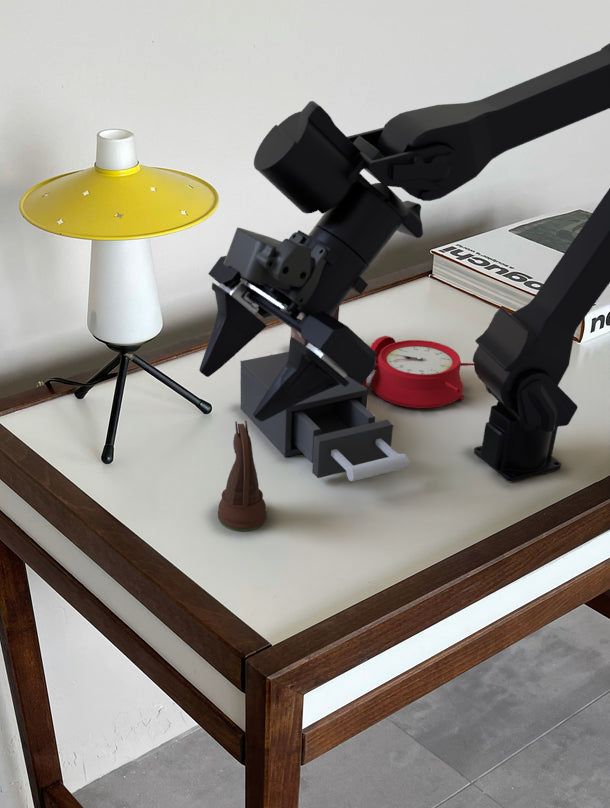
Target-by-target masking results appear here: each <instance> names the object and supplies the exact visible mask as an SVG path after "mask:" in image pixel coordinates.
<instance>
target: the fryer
mask: <svg viewBox="0 0 610 808" xmlns="http://www.w3.org/2000/svg"><path fill="white" fill-rule="evenodd" d="M288 357H289V351H285V352H280V353H275V354H270V355H264V356H259V357H253V358H249V359H244V360H241V361H240V410H241V411H242V412H243V413H244V414H245V416H247V418H249V420H250V421H251V422H252V423H253V424H254V425H255V426H256V427H257V428H258V430H260V432H261V433H262V434H263V435H264V436H265V437H266V438H267V439H268V440H269V442H270V443H271V444H272V445H273V446H274V447H275V448H276V449H277V450H278V451H279V452H280V454H281V455H282V456H283V457H285V458H287V457H291V456H295V455H300V454H303V453H302V452H301V451H300V450H299V449H298V448H297V447H296V445H295V444H294V443H293V442H292V441H291V428H292V412H293V411H298V410H302V409H307V408H311V407H316V406H320V405H325V404H330V403H334V402H339V401H343V400H348V399H352V398H355V399H356V400H357V401H358V402H360V403H361V404H362V405H363V406H364V407H365V408H366V409H368V407H367V406H368V394H369V389H368V388H367V386H366V387H364V386H363V385H360V384H359V383H357V382H356V381H354V380H353V379H351V378H350V377H348V376H347V377H346V378H345V379H346V380H347V381H348V382H349V385H348V386H347V387H344V386H342V385H338V386H335V387H333V388H331V389H328V390H326V391H324V392H321V393H319V394H317V395H314V396H312V397H310V398H308V399H306V400H304V401H302V402H299V403H298V404H296V405H294V406H292V407H290V408H288V409H286V410H284V411H282V412H280V413H278V414H277V415H275V416H273V417H271V418H269V419H267V420H265V421H263V422H261V421H259V420H258V419H256V418H255V417H254V416H253V413H254V411H255V410H256V408H257V406H258V404H259V402H260V401H261V399H262V398H263V396H264V395H265V393H266V392H267V390H268V389H269V387H270V386H271V385H272V383H273V382H274V380H275V379H276V377H277V376H278V374H279V373H280V372H281V370H282V369H283V367H284V366H285V364H286V363H287V361H288Z"/></svg>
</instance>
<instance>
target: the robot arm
mask: <svg viewBox="0 0 610 808" xmlns="http://www.w3.org/2000/svg"><path fill="white" fill-rule="evenodd" d="M609 109H610V42H609V43H608V44H606V45H604V46H602V47H601V49H600V50H597V51H595V52H593V53H591V54H588V55H585V56H583V57H581V58H578V59H575V60H573V61H571V62H569V63H565V64H563V65H561V66H559V67H556V68H554V69H551V70H549V71H546V72H544V73H542V74H539V75H537V76H534V77H533V78H530V79H527V80H525V81H522V82H520V83H518V84H515V85H514V86H511V87H508V88H505V89H503V90H501V91H498V92H496V93H494V94H491V95H489V96H486V97H484V98H481V99H477V100H474V101H469V102H461V103H446V104H445V103H444V104H435V105H431V106H425V107H421V108H417V109H412V110H407V111H403V112H401V113H399V114H397V115H395V116H393V117H391V118H390V119H389V120H388V121H387V122H386V123H385V124H384V126H383V127H380V128H376V129H372V130H368V131H364V132H361V133H356V134H353V135H347V136H346V134H344V133H343V131H341V129H339V127H338V126H337V125H336V124H335V122H334V120H333V118H331V116H330V114H329V113H328V112H327V111H326V110H325V109H324V108H323V107H322V106H321V105H320V104H318V103H317V102H316V101H314V100H310V101H308V103H307V104H306V105H305V106H304V107H303V109H302V110H300V111H297V112H294V113H292V114H290V115H289V116H287V117H286V118H285V119H283V120H282V121H281V122H280V123H279V124H278V125H277V124H275V125H273V127H272V128H271V129H270V130H269V131H268V132H267V134H266V135H265V137H263V139H262V141H261V142H260V143H259V146H258V148H257V150H256V152H255V155H254V157H253V158H254V159H253V167H254V170H256V171H257V172H258V173H259V174H260V175H261V176H262V177H264V178H265V179H266V180H267V181H268V182H269V183H270V184H271V185H272V186H274V187H275V188H276V189H277V190H278V191H279V192H280V193H281V194H282V195H283V196H284V197H285V198H287V200H288V201H290V203H292V204H293V205H294V206H295V207H296V208H297V209H298V210H300V212H302V213H303V214H306V215H308V214H313V213H316V212H319V213H320V214H321V215H322V216H321V217H320V218H319V220H318V221H317V223H315V225H314V226H313V228H312V229H311V230H310V232H309V233H308V234H307V233H306V232H303V231H301V230H300V229H298V230H297V232H292V234H291V235H290V236H289V238H285V239H283V240H282V241H281V240H279V239H276V238H273V237H271V236H267V235H264V234H261V233H259V232H255V231H252V230H248V229H245V228H242V227H236V229H235V232H234V235H233V238H232V240H231V242H230V244H229V248H228V251H227V253H226V255H222V256H220V257H219V258H218V260H217V261H216V262H215V264H214V265H213V266H212V268H211V269H210V271H209V272H208V276H210V277H211V278H212V279H213V280H215V281H216V282H217V283H218V284H219V285H217V283H215V282H212V283H211V290H212V291H213V292H214V294H215V301H216V306H217V312H216V316H215V320H214V323H213V327H212V331H211V334H210V336H209V340H208V342H207V345H206V349H205V352H204V355H203V357H202V360H201V363H200V366H199V369H198V370H199V373H201V374H202V375H203V376H205V377H207V378H209V377H211V376H212V375H213V374H215V373H216V372H217V371H218V370H220V369H221V368H222V367H224V366H225V364H227V363H228V362H229V361H230V360H231V359H232V358H234V357H235V356H236V355H237V354H238V353H239V352H240V351H242V350H243V349H244V348H245V347H246V346H247V345H248V344H249V343H250V342H251V341H252V340H254V339H255V338H256V337H257V336H258V335H259V334H260V333H261V332H262V331H263V330H265V328H266V327H267V326H268V325H267V324H266V323H265V322H264V321H263V320H261V319H260V318H259V317H261V318H263V319H266V318H269V317H271V316H273V317H275V318H276V319H277V320H279V321H281V322H282V323H284V324H285V325H286V326H288V327H289V328H290V329H291V328H292V329H294V330H295V331H297V332H298V333H300V334H301V337H302V338H303V339H304V340H305V341H307V342H308V344H307V346H304V345H303V344H302V343H300V342H299V341H297V340H296V339H294V338H293V337H291V336H290V338H289V347H288V352H289V357H288V361H287V363H286V364H285V366H284V367H283V369H282V370H281V372H280V373H279V374H278V376H277V377H276V379H275V380H274V382H273V383H272V385H271V386H270V387H269V389H268V390H267V392H266V393H265V395H264V396H263V398H262V399H261V401H260V402H259V404H258V406H257V408H256V410H255V411H254V413H253V416H254V417H255V418H256V419H258V420H259V421H261V422H263V421H265V420H267V419H269V418H271V417H273V416H275V415H277V414H278V413H280V412H282V411H284V410H286V409H288V408H290V407H292V406H294V405H296V404H298V403H299V402H302V401H304V400H306V399H308V398H310V397H312V396H314V395H317V394H319V393H321V392H324V391H326V390H328V389H331V388H333V387H335V386H338V385H342V386H344V387H347V386H348V385H349V382H348V381H347V380H346V379H345V378H346V377H347V376H348V377H350V378H351V379H353V380H354V381H356V382H357V383H359V384H360V385H362V384H363V383H364V382H365V380H366V379H367V380H368V378H369V377H370V375H371V374H372V372H373V371H375V370H374V369H375V365H376V352H375V351H374V350H373V349H372V348H370V347H371V346H369V345H368V344H367V343H366V342H365V341H364V340H363V339H362V338H361V337H360V336H359V335H358V334H357V333H355V332H354V331H353V330H352V329H351V328H350V327H349V326H348V325H347V324H344V323H343V322H341V321H340V320H339V319H338V320H337V319H335V318H333V317H332V315H333V313H334V312H335V311H336V309H337V308H338V307H339V308H340V306H341V305H342V303H343V302H344V300H345V299H346V298H347V296H348V295H349V294H350V293H351V291H354V292H356V293H358V294H360V295H362V294H363V293H364V291H365V290H366V288H367V287H368V286H369V284H368V282H366V281H365V280H364V279H363V278H362V277H363V276H364V274H365V273H366V271H368V269H369V268H370V266H371V265H372V263H373V262H374V261H375V260H376V258H377V257H378V256H379V254H380V253H381V252H382V250H383V249H384V248H385V246H386V245H387V244H388V242H389V241H390V240H391V239H392V237H394V234H395V233H396V232H399V233H402V234H405V235H408V236H409V237H413V238H416V239H421V238H422V237H423V235H424V230H423V221H422V217H421V210H422V205H421V204H420V203H417V202H414V201H410V200H404V201H403V200H402V199H401V198H400V197H399V196H398V195H397V194H396V193H395V192H394V191H393V190H392V189H391V188H401V189H402V190H403V191H404V192H405V193H407V194H408V195H410V196H411V197H413V198H416V199H417V200H421V201H423V202H431V201H435V200H440V199H442V198H444V197H446V196H448V195H449V194H451V193H452V192H454V191H456V190H458V189H459V188H460V187H462V186H464V185H466V184H468V183H469V182H470V181H472V180H474V179H476V178H477V177H478V176H479V175H480V174H481V172H483V170H484V169H485V168H486V167H487V166H488V165H489V164H490V163H491V162H492V161H493V159H495V158H497V157H499V156H501V155H502V154H504V153H505V152H507V151H510V150H513V149H515V148H517V147H520V146H523V145H524V144H527V143H529V142H532V141H535V140H537V139H539V138H542V137H544V136H546V135H549V134H551V133H553V132H556V131H558V130H562V129H563V128H565V127H566V128H567V127H568V126H571V125H573V124H576V123H578V122H580V121H583V120H585V119H587V118H590V117H593V116H594V115H598V114H600V113H602V112H605V111H606V110H609ZM363 170H364V171H365V172H367V173H368V174H369V175H370V176H372V177H373V178H374V179H375V180H377V181H378V182H375V183H371V182H370V181H368V179H367V178H366V177H364V175H362V174H361V172H362V171H363ZM390 187H391V188H390ZM609 285H610V187H609V188H608V189H607V191H606V193H605V194H604V196H603V197H602V198H601V200H600V202H599V203H598V204H597V206H596V207H595V209H594V210H593V211H592V213H591V214H590V216H589V217H588V219H587V220H586V222H584V224H583V225H582V227H581V229H580V230H579V232H577V234H576V236H575V237H574V239H573V240H572V242H571V243H570V245H569V246H568V248H567V249H566V251H564V253H563V255H562V256H561V258H560V259H559V260H558V262H557V263H556V265H555V266H554V267H553V269H552V271H551V272H550V274H549V275H548V276H547V278H546V279H545V280H544V282H543V284H542V285H541V287H540V288H539V289H538V291H537V292H536V294H535V296H534V297H533V298H532V299H531V300H530V302H528V303H527V304H525V305H524V306H522V307H521V308H519V309H517V310H515V311H513V312H511V313H510V312H509V311H507V309H505V307H500V308H499V309H498V310H497V311H495V313H494V315H493V317H492V319H491V320H490V323H489V325H488V327H487V328H486V329H485V330H484V332H483V333H482V334H480V336H478V337H477V338H476V339H475V340H474V342H475V343H476V344H477V348H476V350H475V351H474V353H473V356H472V363H474V365H473V366H474V367H473V369H474V373H475V374H476V376H477V378H478V379H479V380H480V381H481V382H482V383H483V384H484V386H485V390H486V392H487V393H488V394H490V395H492V397H494V399H495V400H496V401H497V403H496V404H495V405H492V406H490V412H489V418H488V421H487V422H486V423H485V425H484V432H483V437H482V444H481V445H479V446H476V447H474V449H473V454H474V455H475V456H477V457H478V458H479V459H481V460H482V461H483V462H484V463H485V464H486V465H488V466H489V467H490V468H491V469H493V470H494V471H495V472H496V473H497V474H499V475H500V476H501V477H502V478H503V479H505V480H506V481H508V482H510V483H511V482H517V481H520V480H521V481H522V480H524V479H529V478H532V477H535V476H539V475H544V474H547V473H552V472H555V471H559V470H561V469H562V464H563V463H562V462H561V461H559V460H557V459H556V458H555V457H554V456H553V452H554V448H555V443H556V438H557V432H558V428H559V427H566V426H568V425H569V424H570V423H571V421H572V419H573V417H574V415H575V414H576V412H577V410H578V409H579V407H578V405H577V404H576V402H574V401H573V399H571V397H570V396H569V395H568V394H567V393H566V392H565V391H564V390H563V389H562V388H561V387H560V386H559V385H560V383H561V381H562V379H563V377H564V375H565V374H566V371H567V370H568V368H569V366H570V362H571V356H572V350H573V344H574V338H575V334H576V331H577V329H578V328H579V326H580V325H581V324H582V322H583V321H584V320H585V318H586V317H587V316H588V314H589V313H590V311H591V309H592V308H593V307H594V306H595V304H596V302H597V301H598V300H599V298H601V296H602V294H603V293H604V291H606V289H607V287H608V286H609ZM300 313H301V314H302V315H304V317H303V318H302V320H300V319H298V318H297V317H298V316H299V314H300ZM256 314H257V315H258V316H259V317H257V316H256Z"/></svg>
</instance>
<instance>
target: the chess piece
mask: <svg viewBox="0 0 610 808" xmlns="http://www.w3.org/2000/svg"><path fill="white" fill-rule="evenodd" d="M234 424H235V433H234V436H233V439H232V440H233V441H232V442H233V443H232V444H233V451H234V454H235V460H234V462H233V464H232V467H231V469H230V472H229V474H228V477H227V481H226V485H225V489H224V490H223V491H222V492H221V499H220V501H219V503H218V510H217V519H218V521H219V523H220V524H221V525H222V526H224V527H225V528H227V529H229V530H231V531H232V530H233V531H237V532H246V531H252V530H255V529H257V528H259V527H261V526H262V525H263V524H265V522H266V520H267V517H268V516H267V505H266V502H265V500H264V493H263V491H262V490H261V489H260V485H259V480H258V473H257V469H256V464H255V460H254V454H253V453H254V452H253V445H252V444H253V443H252V440H251V437H250V435H249V428H248V422H247V420H244V423H238V421H235V422H234Z"/></svg>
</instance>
